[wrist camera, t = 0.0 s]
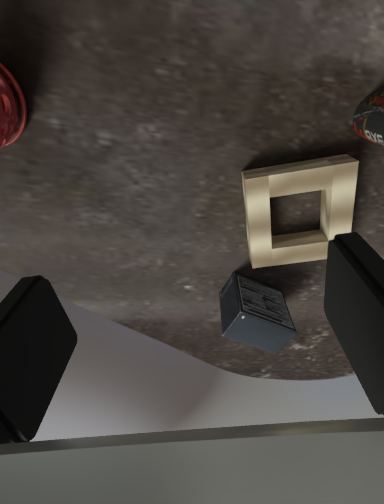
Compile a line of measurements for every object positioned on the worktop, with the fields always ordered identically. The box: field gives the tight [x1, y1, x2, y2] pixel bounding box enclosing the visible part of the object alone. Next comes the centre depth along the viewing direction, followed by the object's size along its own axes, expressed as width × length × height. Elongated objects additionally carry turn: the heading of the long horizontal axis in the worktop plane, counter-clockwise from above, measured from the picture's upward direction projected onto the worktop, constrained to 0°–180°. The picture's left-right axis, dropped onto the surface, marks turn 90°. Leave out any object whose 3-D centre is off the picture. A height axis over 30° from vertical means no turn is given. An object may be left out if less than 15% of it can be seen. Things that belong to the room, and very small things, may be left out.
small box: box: [219, 272, 297, 354], centre depth 52 cm, size 11×6×10 cm, turn 65°
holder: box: [242, 154, 359, 268], centre depth 46 cm, size 15×15×4 cm
